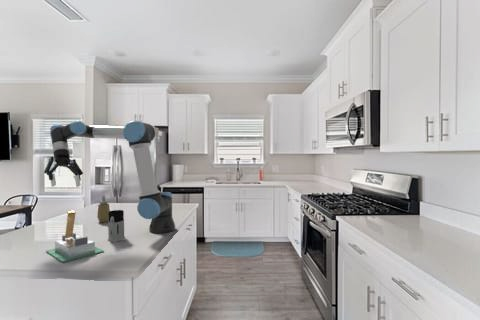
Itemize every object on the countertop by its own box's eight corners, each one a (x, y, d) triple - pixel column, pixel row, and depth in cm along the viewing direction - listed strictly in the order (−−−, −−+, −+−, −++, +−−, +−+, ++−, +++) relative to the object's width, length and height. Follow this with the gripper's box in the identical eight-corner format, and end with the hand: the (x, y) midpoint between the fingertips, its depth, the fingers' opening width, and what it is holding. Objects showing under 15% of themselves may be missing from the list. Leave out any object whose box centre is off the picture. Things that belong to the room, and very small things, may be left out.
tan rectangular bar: (65, 239, 133) (64, 236, 134) (72, 237, 135) (71, 235, 137) (69, 213, 130) (67, 211, 131) (76, 212, 132) (74, 210, 134)
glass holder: (126, 236, 155) (126, 209, 155) (120, 244, 141) (119, 214, 141) (110, 237, 154) (109, 210, 153) (102, 245, 140) (101, 215, 139)
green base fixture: (46, 251, 131) (45, 235, 130) (84, 242, 144) (84, 227, 143) (62, 263, 116) (62, 244, 116) (103, 252, 130) (103, 235, 129)
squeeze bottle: (97, 223, 185) (96, 196, 185) (97, 221, 192) (96, 195, 192) (110, 222, 189) (110, 195, 189) (110, 219, 196) (109, 194, 196)
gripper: (78, 156, 170) (83, 188, 164) (33, 150, 148) (38, 188, 142) (85, 151, 167) (91, 184, 162) (41, 144, 145) (46, 182, 139)
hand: (66, 186), depth 152 cm, fingers open, 13 cm apart
